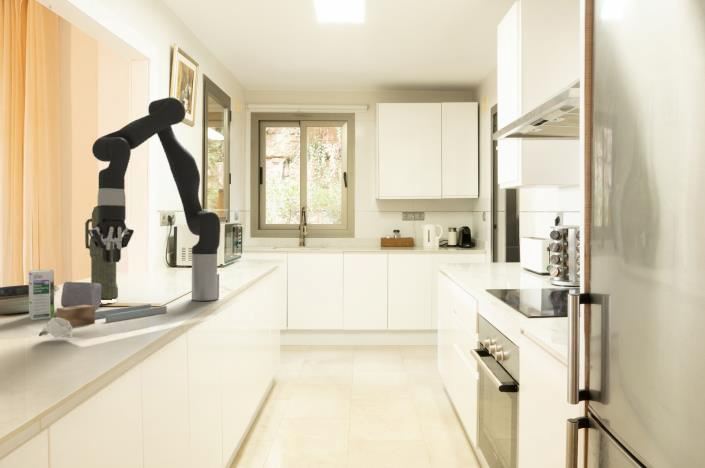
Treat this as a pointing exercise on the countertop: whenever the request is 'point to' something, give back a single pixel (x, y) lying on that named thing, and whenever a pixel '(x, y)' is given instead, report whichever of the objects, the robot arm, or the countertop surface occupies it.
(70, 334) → the white rolled cloth
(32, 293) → the syrup box
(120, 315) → the guide channel
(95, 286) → the stone block
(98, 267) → the thermos
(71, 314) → the walnut block
